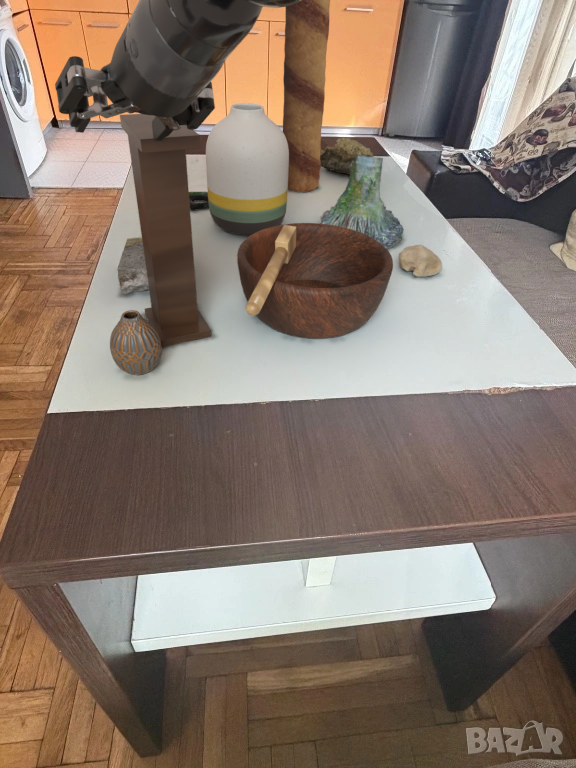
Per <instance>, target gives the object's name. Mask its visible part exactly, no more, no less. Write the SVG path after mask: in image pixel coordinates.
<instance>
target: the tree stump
mask: <svg viewBox="0 0 576 768" xmlns="http://www.w3.org/2000/svg"><path fill="white" fill-rule="evenodd" d="M383 159H384V157H378V156H377V157H375V156H374V157H365V156H355V159H354V163H353V167H352V170H351V174H350V175H349V177H348V181H347V184H346V187H345V190H344V191H343V192H342V193H341V195H340V196H339V197H338V198H337V201H336V203H335V205H334V206H330V209H328V210H325V211H323V213H322V215H321V216H320V217H319V218H320V221H321V224H328V225H335V226H340V227H344V228H348V229H352V230H355V231H358V232H361V233H363V234H366V235H368V236H370V237H372V238H373V239H375V240H377V241H378V242H380V243H381V244H382V245H383V246H384V247H385V248H386V249H387V250H390V249H392V248H394V247H395V246H397V245H398V244H399V243H401V242H402V240H403V235H404V226H403V224H401V222H400V221H399V219H398V217H396V216H395V215H394V214H393V211H392V210H389V209H387V208H386V207H387V206H385V204H384V203H385V202H384V201H383V200H382V198H381V181H382V170H383V161H384V160H383Z"/></svg>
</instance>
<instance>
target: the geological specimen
mask: <svg viewBox="0 0 576 768" xmlns="http://www.w3.org/2000/svg"><path fill="white" fill-rule="evenodd" d="M116 271H117V279H118V282H119V287H120V291H121V294H122V295H123V296H126V295H129V294H131V293H134V292H145V291H149V285H148V278H147V271H146V264H145V256H144V249H143V242H142V236H139V237H129V238H127V239H126V241H125V243H124V247H123V250H122V253H121V255H120V259H119V262H118V265H117V268H116Z"/></svg>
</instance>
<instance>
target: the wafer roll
mask: <svg viewBox="0 0 576 768" xmlns="http://www.w3.org/2000/svg"><path fill="white" fill-rule="evenodd" d="M330 5H331V0H301V1H299V2H297V3H295V4H293V5H290V6H286V7H285V26H284V49H283V50H284V51H283V52H284V60H283V80H282V81H283V109H282V110H283V115H282V132H283V133H284V135H285V137H286V140H287V143H288V149H289V169H288V191H289V190H290V191H293V192H295V193H308V192H311V191H314V190H316V189H318V188H319V184H320V183H319V182H320V174H321V168H322V167H321V163H320V153H321V149H322V148H321V147H322V145H321V143H322V127H323V120H324V119H323V118H324V110H325V109H324V108H325V96H326V95H325V87H326V68H327V50H328V40H329V36H330V35H329V33H330Z"/></svg>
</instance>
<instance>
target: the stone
mask: <svg viewBox="0 0 576 768" xmlns="http://www.w3.org/2000/svg"><path fill="white" fill-rule="evenodd" d="M398 263H399V266H400V267H401V269H403V270H404V271H405V272H412V275H413V276H414V277H416V278H425V277H431V276H436V275H438V274H439V273H440V272H441V271H442V269H443V262H442V259H441V258H440V257H439V256H438V255H437V254H436V253H435V252H433V251H432V250H431V249H429V248H428V247H426V246H424V245H422V244H414V245H410V246H406V247H405V248H403V250H401V251H400V252H399V254H398Z"/></svg>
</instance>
